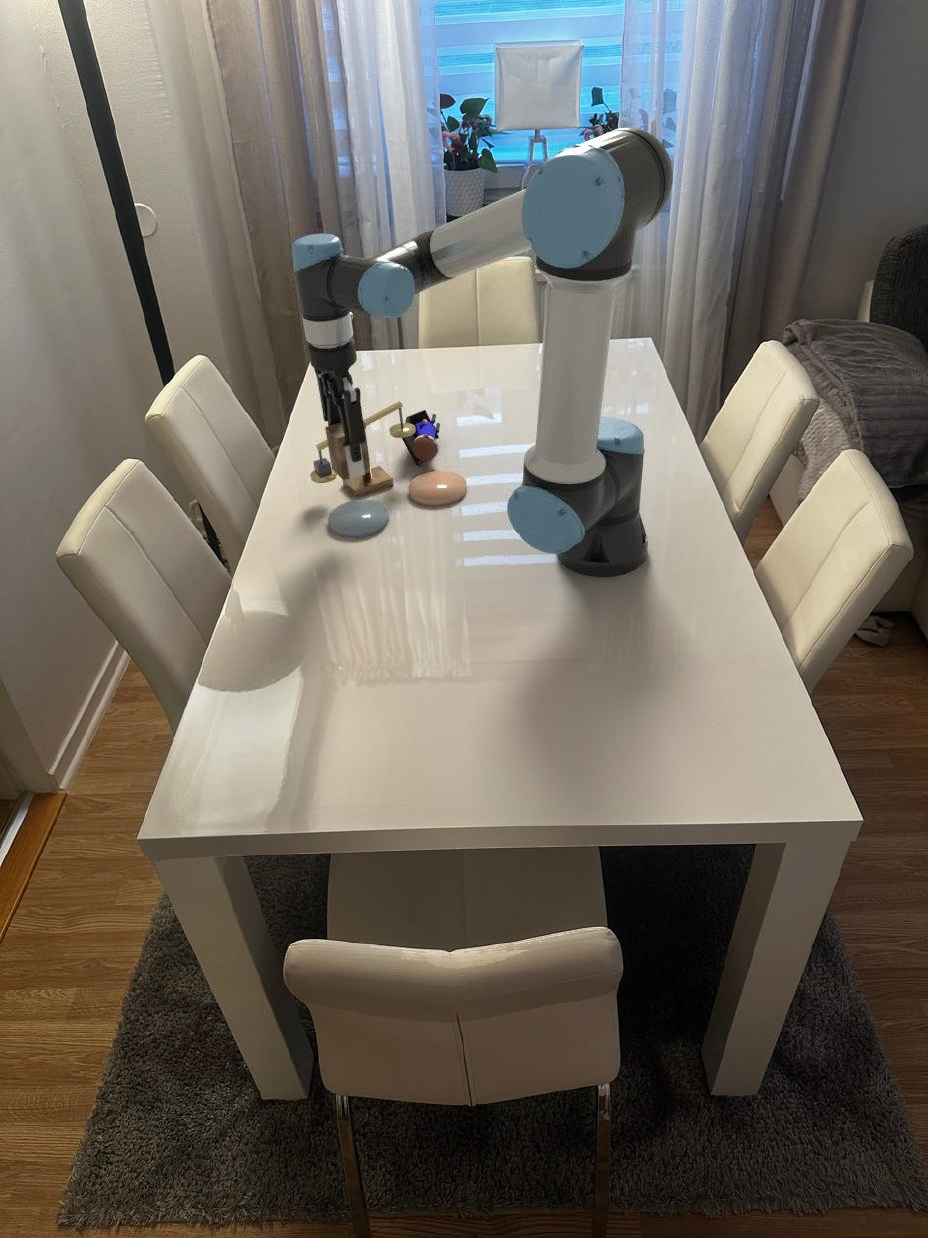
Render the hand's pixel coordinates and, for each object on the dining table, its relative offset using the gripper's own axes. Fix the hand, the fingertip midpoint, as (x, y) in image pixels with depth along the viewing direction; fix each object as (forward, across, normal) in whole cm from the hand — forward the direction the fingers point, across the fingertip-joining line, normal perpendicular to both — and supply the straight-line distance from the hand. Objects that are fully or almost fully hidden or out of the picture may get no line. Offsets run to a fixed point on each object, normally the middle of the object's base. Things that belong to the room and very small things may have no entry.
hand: (350, 468), depth 156 cm
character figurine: (+11, +16, -22) cm, 29 cm away
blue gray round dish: (+11, 0, 0) cm, 11 cm away
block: (0, 0, 0) cm, 0 cm away
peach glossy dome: (+11, +1, -17) cm, 20 cm away
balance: (+11, +11, -7) cm, 17 cm away
